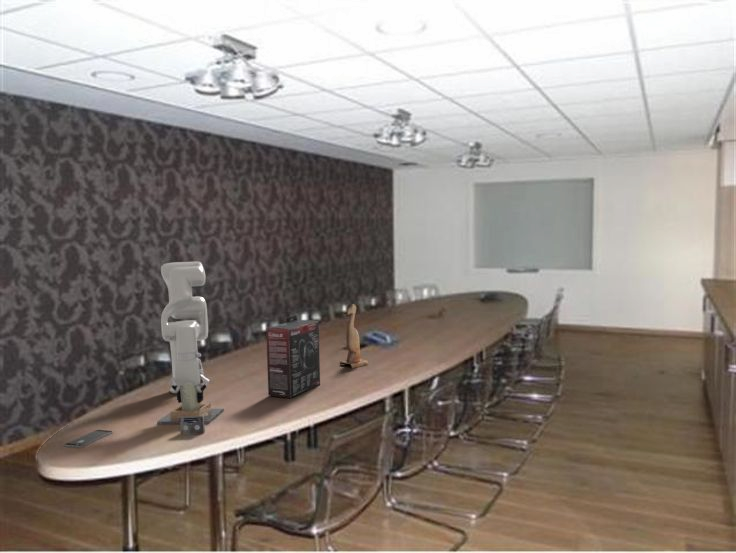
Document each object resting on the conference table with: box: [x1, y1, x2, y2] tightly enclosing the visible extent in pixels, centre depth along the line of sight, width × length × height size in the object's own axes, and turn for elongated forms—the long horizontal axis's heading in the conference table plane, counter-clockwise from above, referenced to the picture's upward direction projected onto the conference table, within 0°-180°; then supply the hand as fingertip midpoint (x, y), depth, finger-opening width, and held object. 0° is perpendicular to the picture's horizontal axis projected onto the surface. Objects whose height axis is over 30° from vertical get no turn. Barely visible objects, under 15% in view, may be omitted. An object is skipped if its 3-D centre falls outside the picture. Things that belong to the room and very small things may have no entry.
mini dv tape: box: [179, 416, 206, 435], centre depth 216 cm, size 8×2×6 cm, turn 88°
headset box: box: [265, 315, 321, 399], centre depth 267 cm, size 24×13×33 cm, turn 154°
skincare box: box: [180, 382, 201, 411], centre depth 234 cm, size 6×4×12 cm
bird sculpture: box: [339, 303, 369, 369], centre depth 313 cm, size 11×12×32 cm
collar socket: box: [156, 402, 225, 425], centre depth 235 cm, size 16×20×4 cm
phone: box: [64, 429, 114, 449], centre depth 214 cm, size 8×1×16 cm
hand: (190, 401), depth 234 cm, fingers closed on skincare box, 7 cm apart
